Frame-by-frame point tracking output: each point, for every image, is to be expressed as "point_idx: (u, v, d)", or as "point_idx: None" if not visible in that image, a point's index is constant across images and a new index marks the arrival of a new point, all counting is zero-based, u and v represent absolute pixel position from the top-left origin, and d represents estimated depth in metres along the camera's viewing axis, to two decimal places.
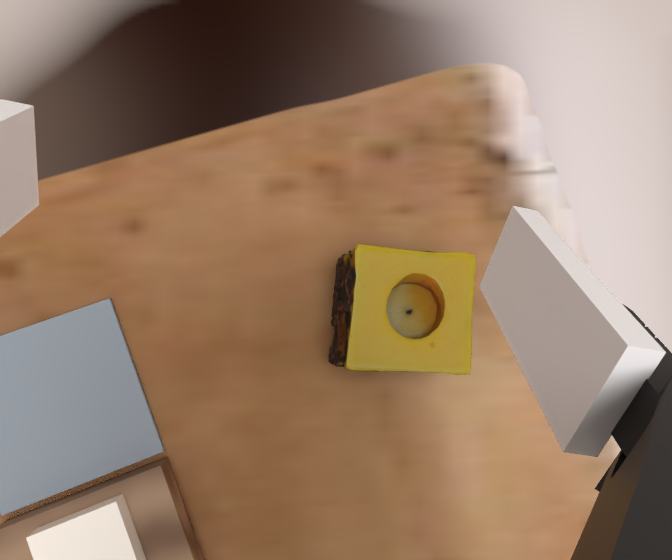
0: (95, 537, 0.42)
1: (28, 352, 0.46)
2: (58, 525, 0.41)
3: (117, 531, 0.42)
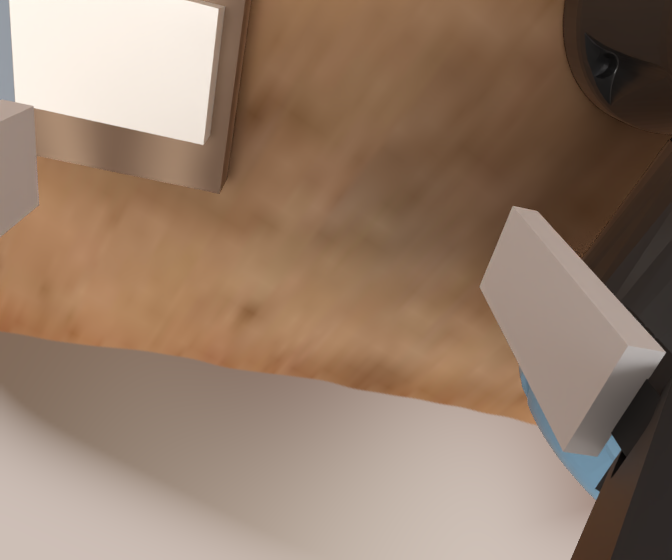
0: (51, 17, 0.27)
1: None
2: (14, 56, 0.27)
3: None
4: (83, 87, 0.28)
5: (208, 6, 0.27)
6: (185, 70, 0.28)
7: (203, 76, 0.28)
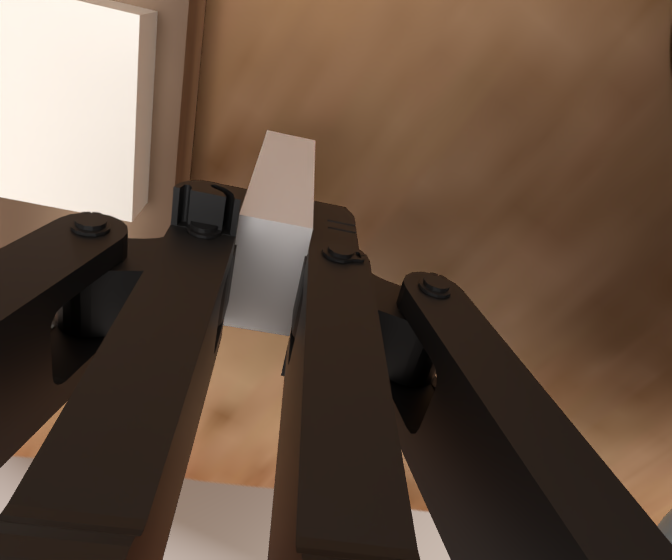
0: None
1: None
2: None
3: None
4: None
5: (123, 11, 0.16)
6: (94, 113, 0.18)
7: (123, 121, 0.18)
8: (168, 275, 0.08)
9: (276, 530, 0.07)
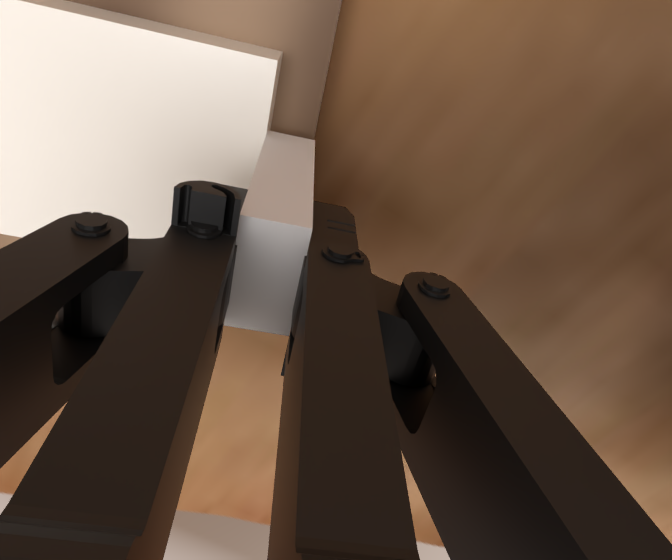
0: None
1: None
2: None
3: None
4: (41, 194, 0.16)
5: (259, 56, 0.15)
6: (216, 164, 0.16)
7: (246, 173, 0.16)
8: (168, 275, 0.08)
9: (276, 530, 0.07)
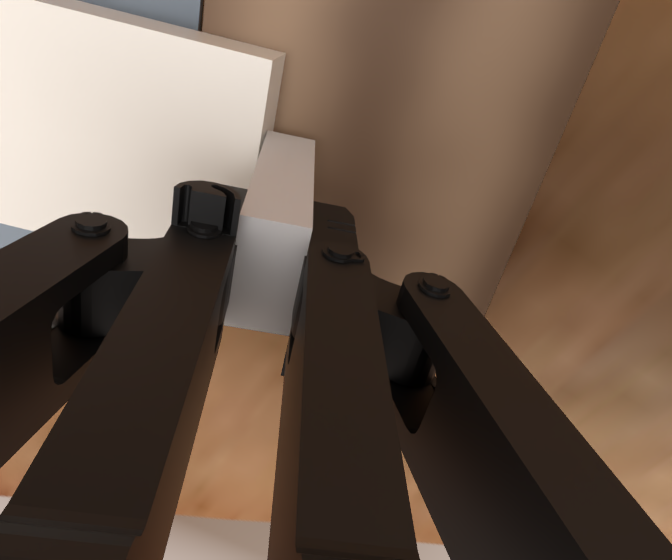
0: None
1: None
2: None
3: None
4: (45, 188, 0.17)
5: (254, 56, 0.14)
6: (211, 164, 0.16)
7: (241, 175, 0.16)
8: (168, 275, 0.08)
9: (276, 530, 0.07)
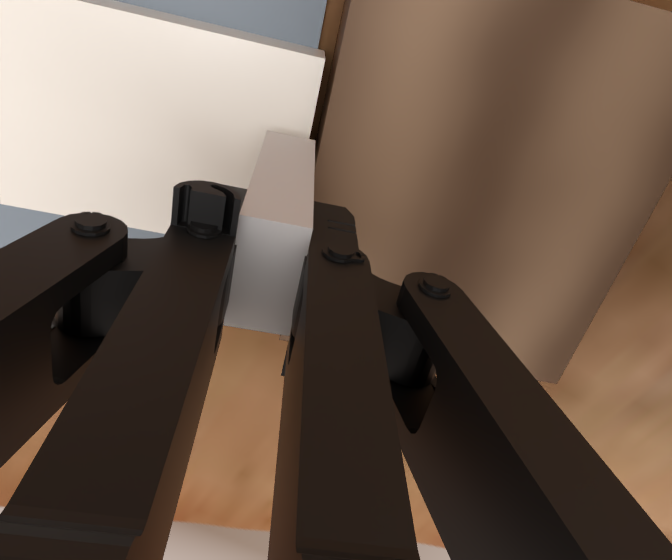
0: (55, 76, 0.16)
1: None
2: None
3: (63, 21, 0.16)
4: (106, 179, 0.18)
5: (308, 55, 0.17)
6: None
7: None
8: (168, 275, 0.08)
9: (276, 530, 0.07)
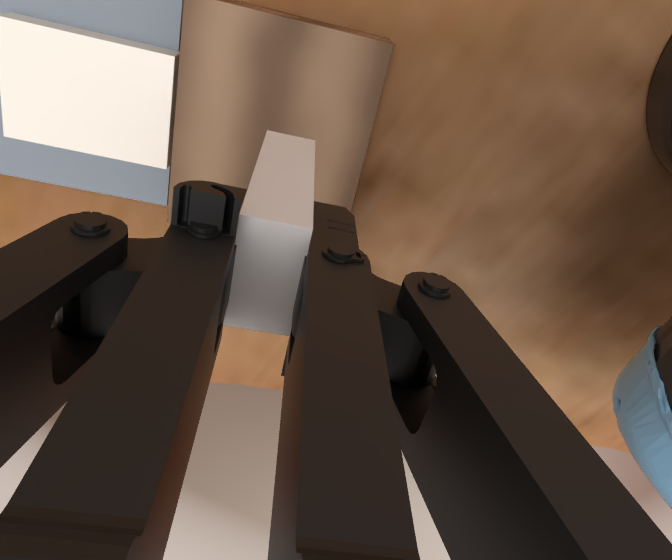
0: (33, 65, 0.31)
1: None
2: (2, 96, 0.32)
3: (36, 36, 0.31)
4: (62, 122, 0.33)
5: (166, 54, 0.31)
6: (148, 107, 0.33)
7: (164, 112, 0.33)
8: (168, 275, 0.08)
9: (276, 530, 0.07)
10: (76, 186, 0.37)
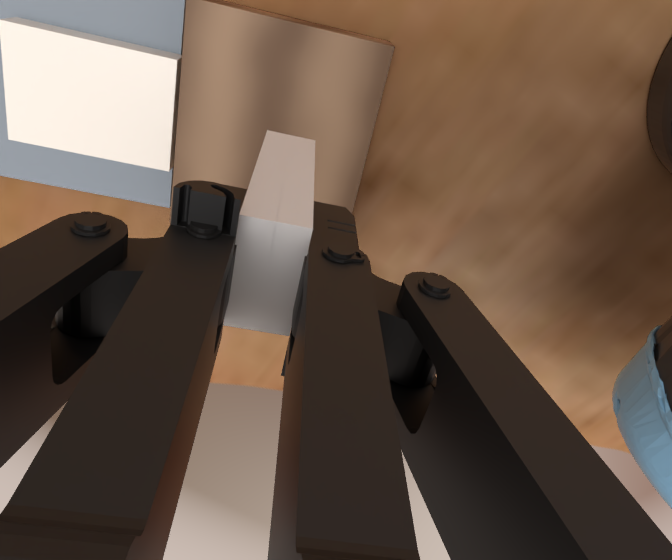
0: (37, 69, 0.32)
1: None
2: (6, 100, 0.33)
3: (40, 40, 0.31)
4: (66, 125, 0.33)
5: (168, 58, 0.32)
6: (151, 110, 0.33)
7: (166, 115, 0.33)
8: (168, 275, 0.08)
9: (276, 530, 0.07)
10: (80, 188, 0.38)
